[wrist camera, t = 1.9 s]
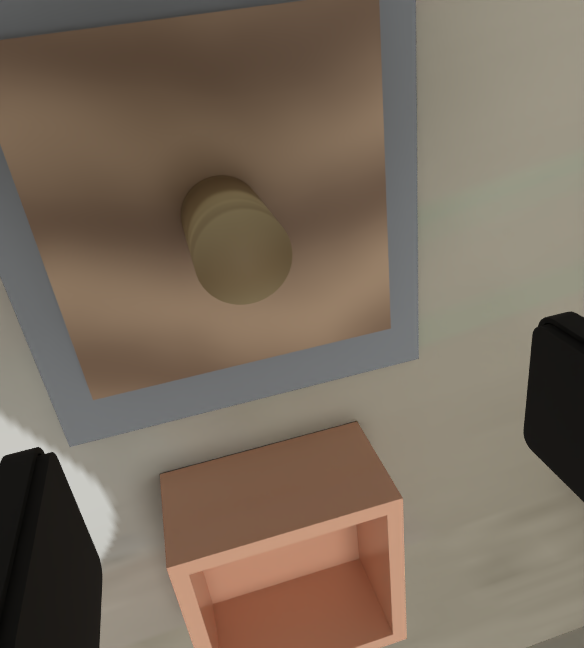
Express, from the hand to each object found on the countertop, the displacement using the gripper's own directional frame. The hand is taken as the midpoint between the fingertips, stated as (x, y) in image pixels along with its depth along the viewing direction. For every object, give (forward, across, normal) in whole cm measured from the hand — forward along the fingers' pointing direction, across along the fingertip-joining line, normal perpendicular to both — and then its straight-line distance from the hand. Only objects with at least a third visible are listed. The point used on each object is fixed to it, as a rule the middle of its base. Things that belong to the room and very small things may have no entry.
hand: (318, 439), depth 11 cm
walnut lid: (+15, 0, -1) cm, 15 cm away
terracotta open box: (+16, 0, +18) cm, 24 cm away
